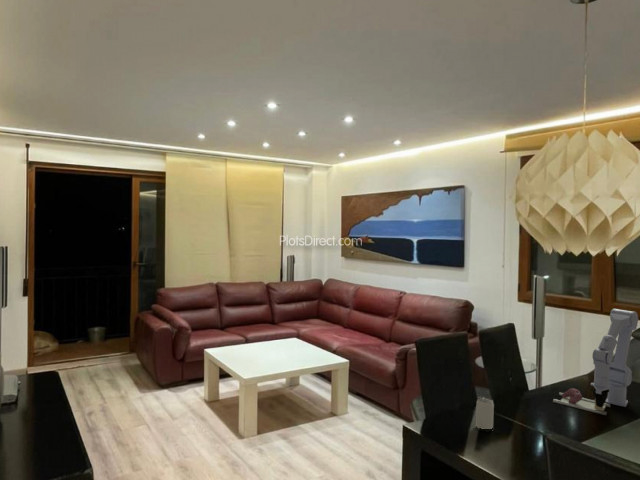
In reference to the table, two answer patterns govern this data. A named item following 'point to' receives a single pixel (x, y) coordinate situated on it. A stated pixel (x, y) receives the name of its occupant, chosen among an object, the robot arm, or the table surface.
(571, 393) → the purple lumpy piece
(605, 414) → the aluminium rails
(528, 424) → the table surface
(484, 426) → the can
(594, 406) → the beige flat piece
